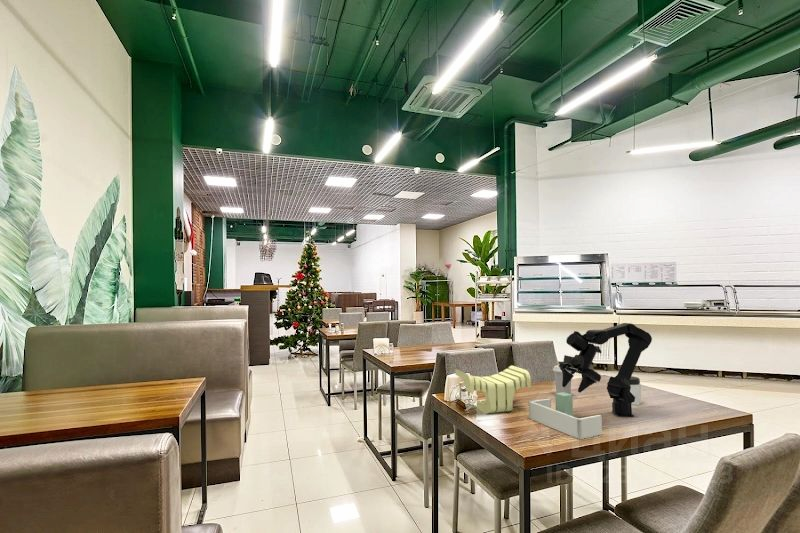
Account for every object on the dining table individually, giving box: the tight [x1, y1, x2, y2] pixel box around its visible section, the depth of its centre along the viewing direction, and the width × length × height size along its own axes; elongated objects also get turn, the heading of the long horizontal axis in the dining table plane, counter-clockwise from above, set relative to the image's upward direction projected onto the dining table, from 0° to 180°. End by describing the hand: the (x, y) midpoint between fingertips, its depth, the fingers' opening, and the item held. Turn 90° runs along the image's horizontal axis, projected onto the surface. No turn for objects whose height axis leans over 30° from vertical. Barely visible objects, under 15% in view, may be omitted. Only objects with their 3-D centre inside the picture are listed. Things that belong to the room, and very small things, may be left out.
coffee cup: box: [552, 364, 572, 395], centre depth 197 cm, size 10×10×15 cm
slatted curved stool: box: [455, 365, 532, 414], centre depth 176 cm, size 30×16×18 cm, turn 105°
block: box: [554, 392, 574, 417], centre depth 153 cm, size 4×4×12 cm
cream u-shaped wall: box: [528, 398, 603, 440], centre depth 152 cm, size 12×26×7 cm, turn 23°
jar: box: [630, 375, 643, 406], centre depth 184 cm, size 9×8×12 cm
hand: (570, 389), depth 159 cm, fingers open, 9 cm apart
